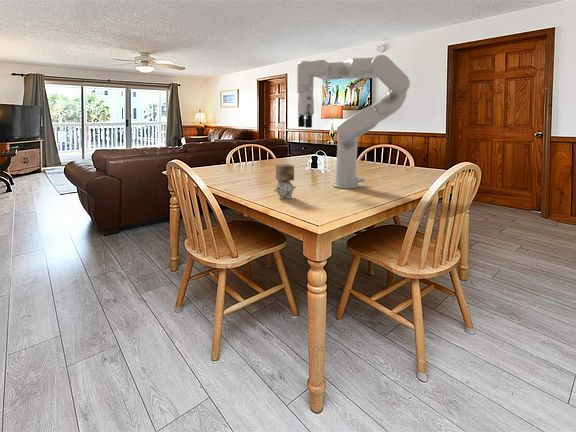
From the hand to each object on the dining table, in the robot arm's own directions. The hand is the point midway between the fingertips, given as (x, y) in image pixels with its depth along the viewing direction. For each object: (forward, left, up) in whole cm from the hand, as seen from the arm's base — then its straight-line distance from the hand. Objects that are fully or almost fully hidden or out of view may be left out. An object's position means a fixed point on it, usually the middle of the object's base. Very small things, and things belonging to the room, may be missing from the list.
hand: (304, 127), depth 174 cm
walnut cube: (+18, +25, -20) cm, 37 cm away
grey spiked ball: (+18, +25, -29) cm, 42 cm away
